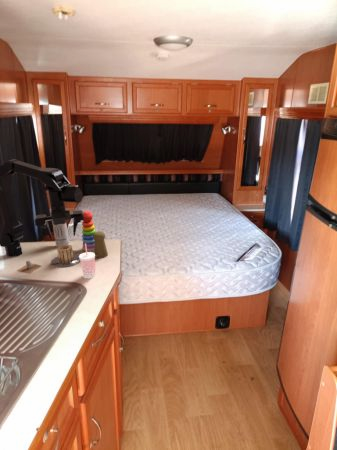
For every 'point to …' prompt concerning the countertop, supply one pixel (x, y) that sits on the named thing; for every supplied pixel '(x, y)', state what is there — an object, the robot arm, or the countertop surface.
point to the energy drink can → (61, 234)
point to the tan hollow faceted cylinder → (65, 254)
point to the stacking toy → (88, 232)
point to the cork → (100, 245)
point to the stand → (29, 267)
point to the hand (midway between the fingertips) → (62, 237)
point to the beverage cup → (88, 263)
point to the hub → (57, 264)
